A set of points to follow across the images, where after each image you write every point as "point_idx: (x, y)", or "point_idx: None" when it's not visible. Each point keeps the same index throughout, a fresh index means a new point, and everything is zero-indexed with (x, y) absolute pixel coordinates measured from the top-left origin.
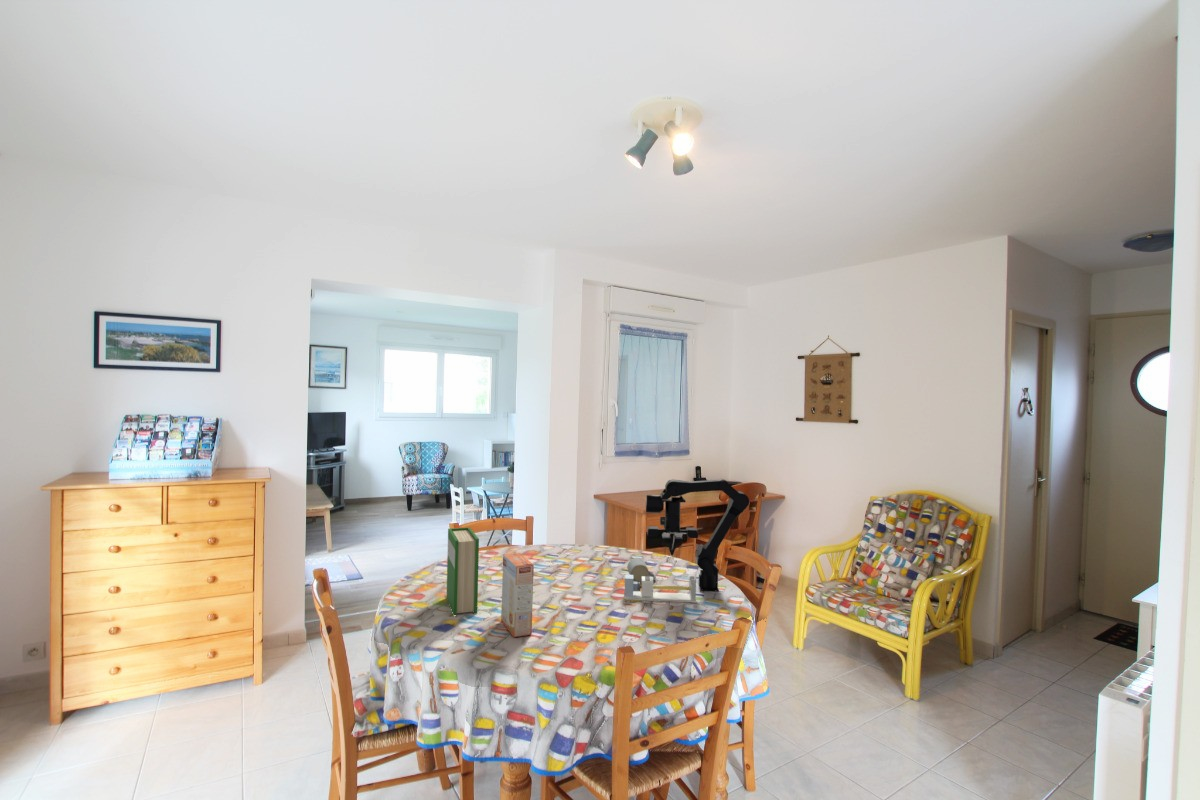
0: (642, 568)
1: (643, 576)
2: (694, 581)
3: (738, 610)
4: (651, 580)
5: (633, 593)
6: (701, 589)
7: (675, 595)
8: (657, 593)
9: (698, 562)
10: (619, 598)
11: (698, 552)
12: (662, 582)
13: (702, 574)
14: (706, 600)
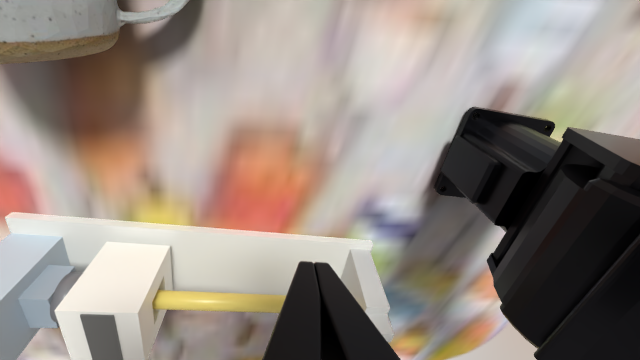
0: (10, 60)
1: (69, 312)
2: None
3: (454, 338)
4: (133, 358)
5: (67, 246)
6: (436, 190)
7: (282, 263)
8: (198, 244)
9: (506, 313)
10: None
11: (624, 327)
12: (253, 35)
13: (492, 218)
14: (397, 280)
